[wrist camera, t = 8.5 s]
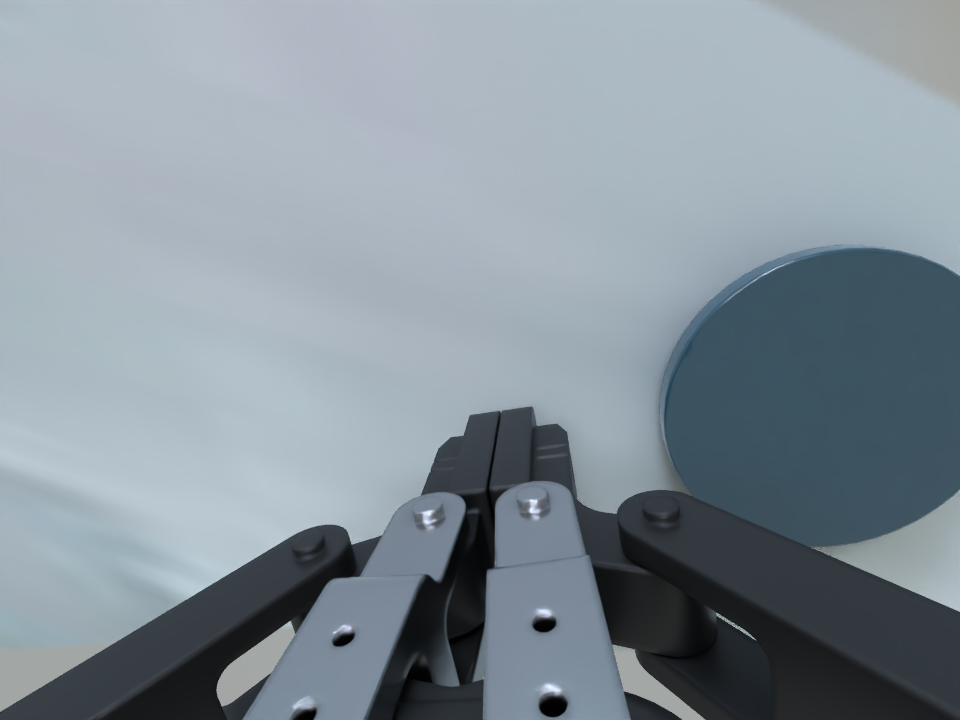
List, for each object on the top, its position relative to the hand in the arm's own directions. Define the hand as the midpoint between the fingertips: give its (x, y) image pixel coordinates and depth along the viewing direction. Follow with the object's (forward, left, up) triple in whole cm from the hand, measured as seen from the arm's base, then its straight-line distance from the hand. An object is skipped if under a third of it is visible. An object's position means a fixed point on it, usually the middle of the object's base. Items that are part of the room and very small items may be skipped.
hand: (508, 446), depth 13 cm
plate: (-6, +5, -1) cm, 7 cm away
